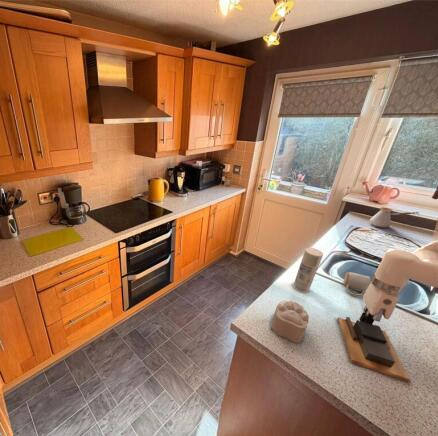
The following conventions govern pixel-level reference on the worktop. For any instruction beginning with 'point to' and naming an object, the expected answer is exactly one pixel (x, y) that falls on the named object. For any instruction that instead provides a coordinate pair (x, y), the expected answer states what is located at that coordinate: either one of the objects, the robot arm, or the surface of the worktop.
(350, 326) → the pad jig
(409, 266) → the robot arm
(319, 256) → the spray can
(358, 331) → the dark grey square block
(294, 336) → the lumpy-topped squat cylinder
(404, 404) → the worktop surface
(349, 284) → the ceramic mug
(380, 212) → the coffee pot
